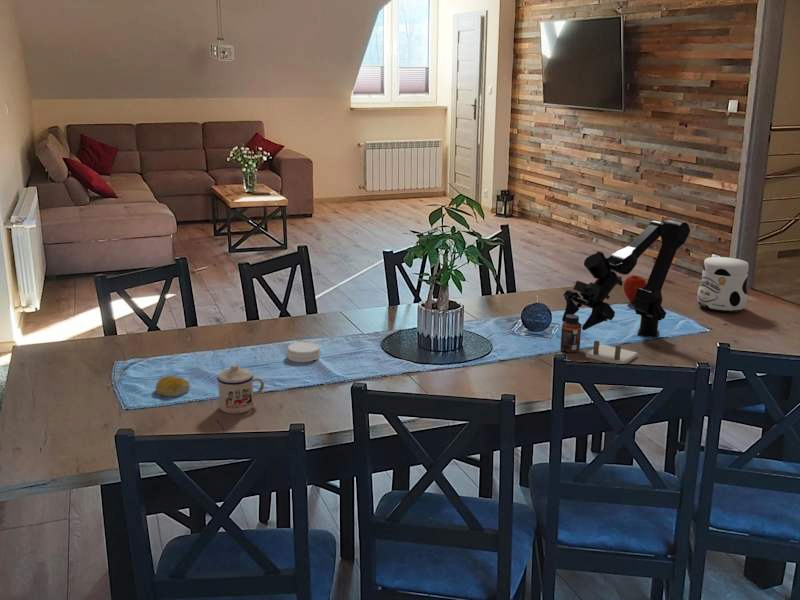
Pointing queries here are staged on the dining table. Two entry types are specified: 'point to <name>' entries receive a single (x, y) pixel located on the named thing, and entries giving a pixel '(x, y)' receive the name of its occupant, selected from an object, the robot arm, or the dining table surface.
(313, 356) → the white short cylinder
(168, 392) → the bread roll
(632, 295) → the apple
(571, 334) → the supplement bottle
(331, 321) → the dining table surface
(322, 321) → the dining table surface
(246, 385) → the teacup with lid
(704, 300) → the milk container
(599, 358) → the pegboard
